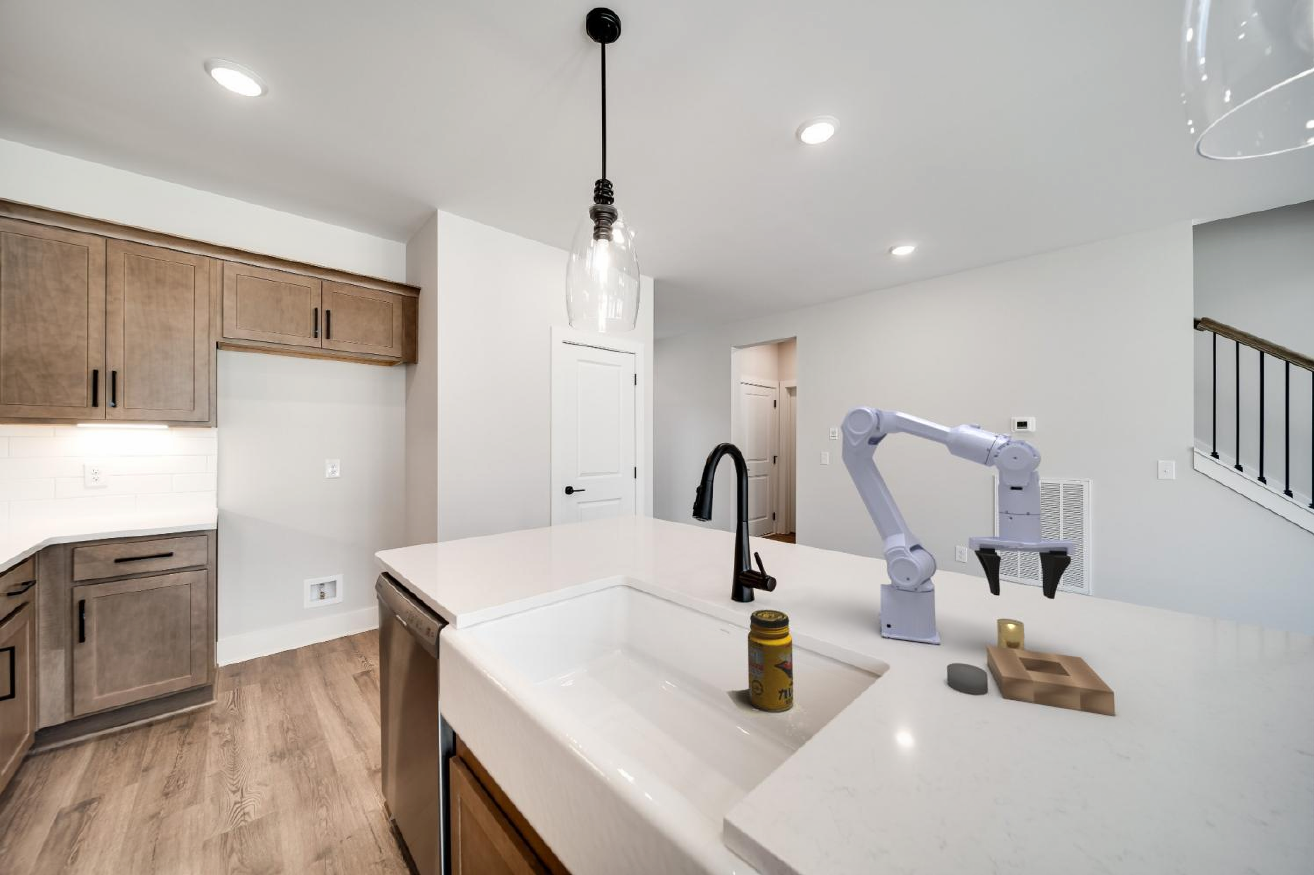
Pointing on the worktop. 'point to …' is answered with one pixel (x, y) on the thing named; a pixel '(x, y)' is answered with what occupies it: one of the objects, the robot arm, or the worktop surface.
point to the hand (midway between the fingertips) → (1021, 595)
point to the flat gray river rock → (967, 679)
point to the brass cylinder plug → (1010, 634)
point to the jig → (1049, 680)
